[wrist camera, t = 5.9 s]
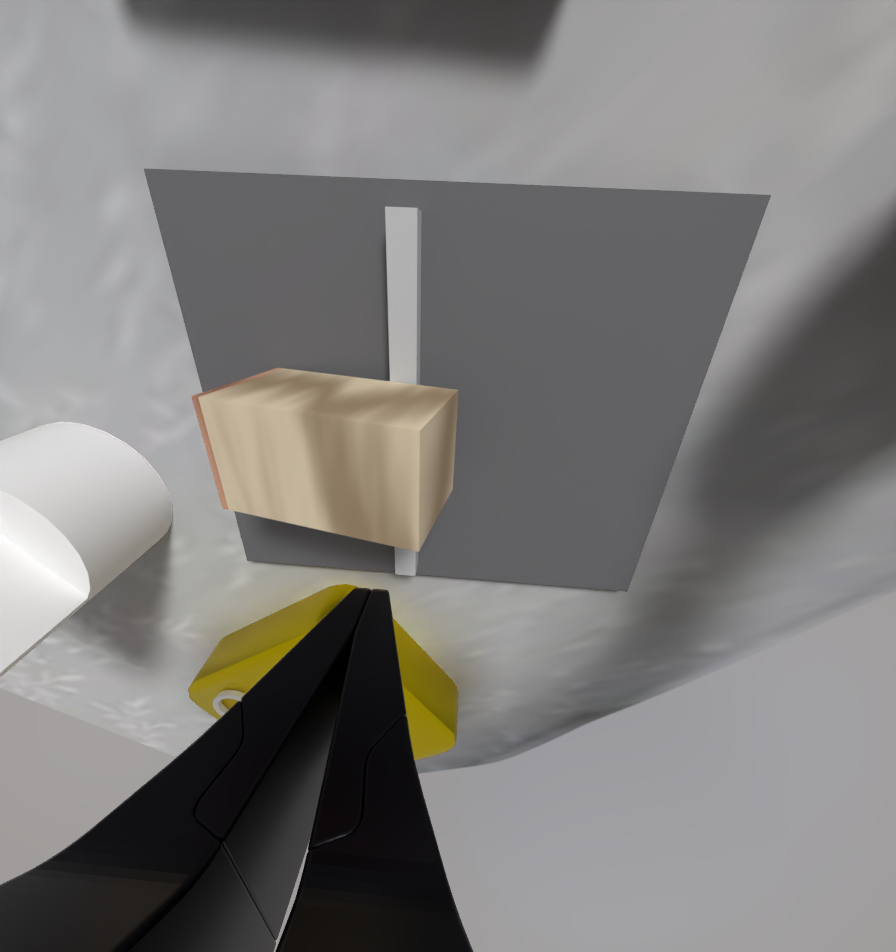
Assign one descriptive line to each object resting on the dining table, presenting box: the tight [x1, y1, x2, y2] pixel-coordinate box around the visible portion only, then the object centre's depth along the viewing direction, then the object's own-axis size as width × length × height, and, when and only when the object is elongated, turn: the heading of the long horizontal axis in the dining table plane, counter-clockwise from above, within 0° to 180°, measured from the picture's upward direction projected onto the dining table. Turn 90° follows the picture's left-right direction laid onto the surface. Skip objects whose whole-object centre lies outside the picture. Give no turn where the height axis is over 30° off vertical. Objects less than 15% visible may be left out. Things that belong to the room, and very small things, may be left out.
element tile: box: [188, 584, 458, 761], centre depth 29 cm, size 15×15×5 cm
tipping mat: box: [144, 169, 771, 591], centre depth 19 cm, size 24×20×2 cm
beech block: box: [192, 368, 458, 552], centre depth 17 cm, size 5×5×9 cm
